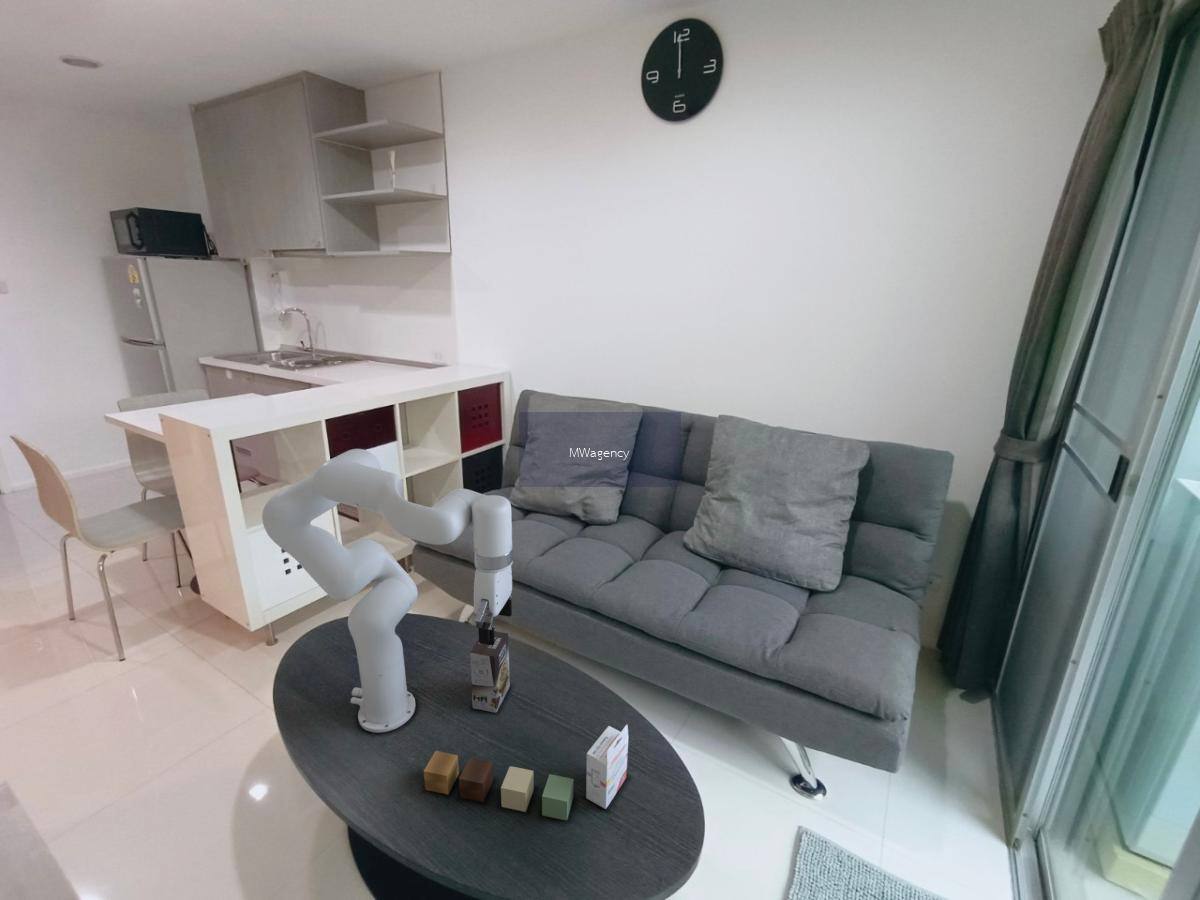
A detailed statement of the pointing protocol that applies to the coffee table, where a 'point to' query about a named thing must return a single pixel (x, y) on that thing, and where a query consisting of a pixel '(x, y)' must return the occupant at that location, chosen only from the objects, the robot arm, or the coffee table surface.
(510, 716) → the coffee table surface
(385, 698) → the robot arm
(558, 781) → the sage block
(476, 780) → the walnut block
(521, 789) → the cream block
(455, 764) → the honey block
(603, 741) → the ink cartridge box
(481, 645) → the coffee box
